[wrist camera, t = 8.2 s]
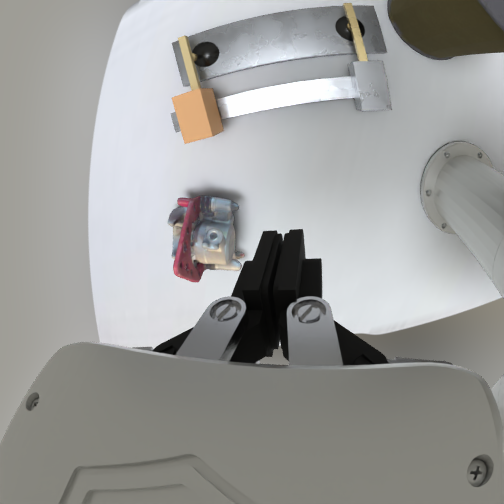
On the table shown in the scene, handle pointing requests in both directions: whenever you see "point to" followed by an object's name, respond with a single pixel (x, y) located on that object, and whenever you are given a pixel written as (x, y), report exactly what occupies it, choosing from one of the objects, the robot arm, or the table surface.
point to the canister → (449, 26)
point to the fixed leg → (366, 72)
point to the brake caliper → (203, 236)
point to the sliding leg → (196, 103)
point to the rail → (281, 96)
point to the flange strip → (279, 40)
